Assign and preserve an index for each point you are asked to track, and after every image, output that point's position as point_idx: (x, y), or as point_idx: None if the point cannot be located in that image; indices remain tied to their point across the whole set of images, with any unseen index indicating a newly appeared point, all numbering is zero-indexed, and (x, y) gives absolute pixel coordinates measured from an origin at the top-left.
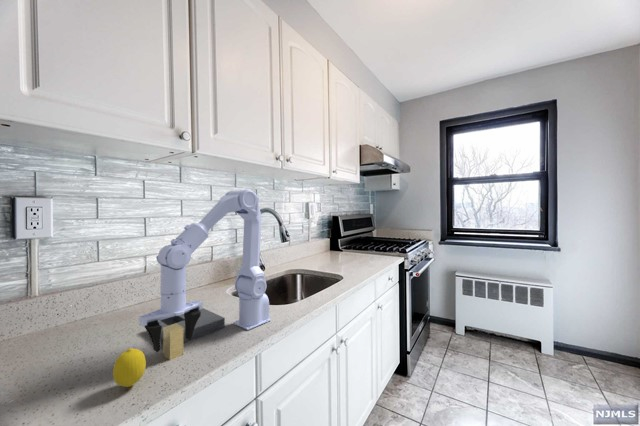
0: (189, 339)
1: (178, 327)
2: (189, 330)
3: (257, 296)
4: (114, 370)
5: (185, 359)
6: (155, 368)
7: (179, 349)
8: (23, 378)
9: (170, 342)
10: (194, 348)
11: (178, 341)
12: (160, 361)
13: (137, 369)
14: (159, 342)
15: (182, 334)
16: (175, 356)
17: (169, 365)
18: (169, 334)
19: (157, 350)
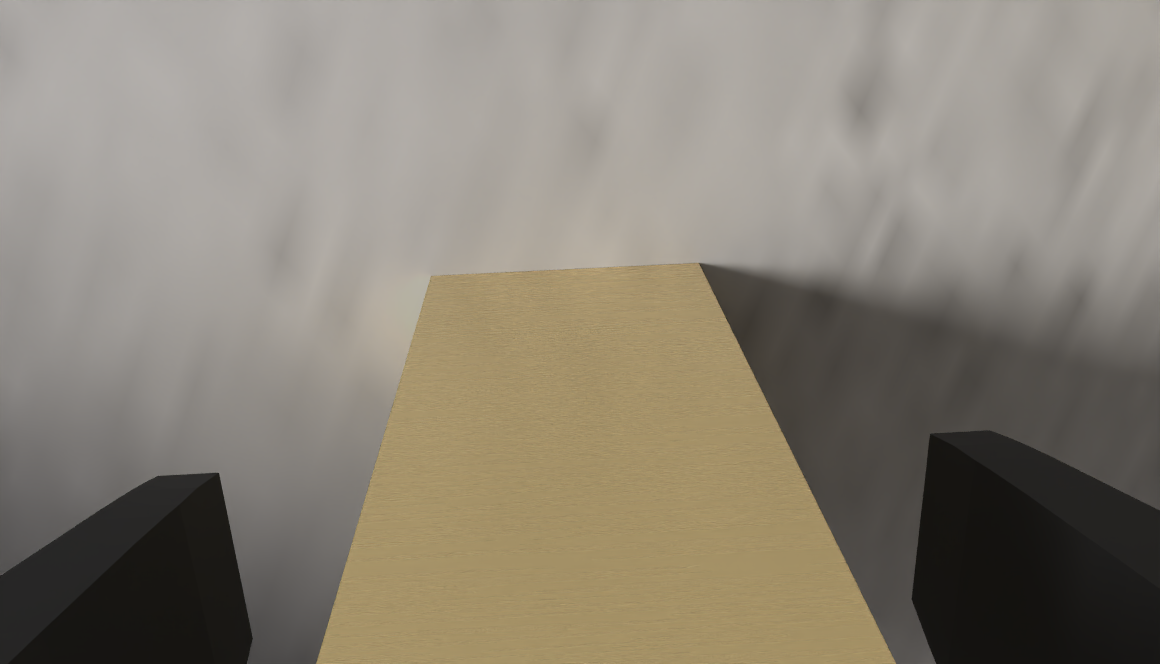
0: (201, 477)
1: None
2: (100, 653)
3: None
4: None
5: (470, 34)
6: (1002, 163)
7: (506, 326)
8: None
9: (769, 434)
10: (168, 345)
11: (530, 419)
12: (831, 346)
13: None
14: (1094, 523)
15: (388, 523)
16: (592, 275)
17: (791, 58)
18: (856, 625)
19: (1009, 441)
